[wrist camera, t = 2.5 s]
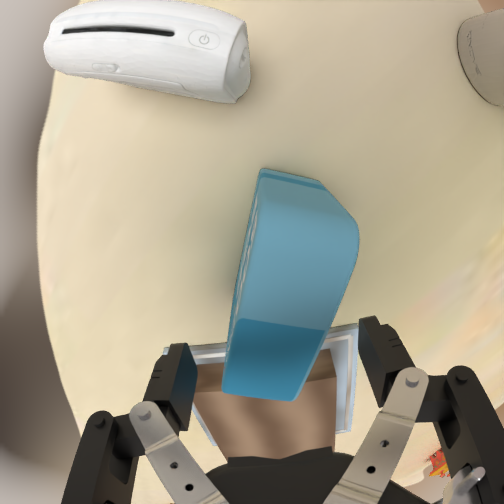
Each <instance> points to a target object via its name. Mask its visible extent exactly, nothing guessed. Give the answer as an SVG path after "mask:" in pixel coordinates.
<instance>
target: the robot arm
mask: <svg viewBox="0 0 504 504" xmlns="http://www.w3.org/2000/svg"><path fill="white" fill-rule="evenodd" d="M458 50H459V56H460V59H461V63H462V65H463V68H464V70H465V73H466V75H467V77H468V78H469V80H470V82H471V84H472V85H473V86H474V88H475V89H476V91H477V92H478V93H479V94H480V95H481V96H482V97H483V98H484V99H486V100H487V101H488V102H490V103H492V104H494V105H497V106H504V8H503V9H499V10H496V11H492V12H489V13H485V14H482V15H479V16H476V17H473V18H470V19H467V20H466V21H465V22H464V23H463V24H462V25H461V27H460V29H459V34H458ZM358 350H359V355H360V358H361V360H362V363H363V366H364V368H365V371H366V373H367V376H368V379H369V382H370V384H371V387H372V390H373V393H374V395H375V398H376V401H377V404H378V407H379V408H381V407H383V408H382V410H381V411H379V413H378V414H377V416H376V418H375V420H374V422H373V424H372V426H371V428H370V430H369V432H368V434H367V436H366V437H365V439H364V441H363V443H362V445H361V446H360V448H359V450H358V452H357V453H356V455H355V456H352V455H349V454H345V453H339V452H333V451H332V446H328V447H323V448H317V449H311V450H305V451H303V452H300V453H297V454H294V455H291V456H288V457H285V458H282V459H272V458H264V457H257V456H243V457H228V463H227V464H224V465H221V466H219V467H216V468H214V469H212V470H211V471H209V472H208V473H206V474H205V473H204V472H203V470H202V469H201V468H200V467H199V465H198V464H197V463H196V461H195V460H194V459H193V457H192V456H191V455H190V453H189V452H188V450H187V449H186V448H185V446H184V445H183V443H182V442H181V441H180V439H179V438H178V436H179V431H188V427H189V421H190V415H191V410H192V405H193V399H194V394H195V388H196V383H197V378H198V370H197V366H196V363H195V360H194V358H193V356H192V353H191V351H190V348H189V346H188V344H187V343H176V344H171V345H170V347H169V350H168V353H167V355H162V356H161V357H160V358H159V359H158V360H157V362H156V363H155V366H154V369H153V372H152V375H151V379H150V381H149V384H148V387H147V390H146V392H145V395H144V398H143V401H142V402H140V403H138V404H136V405H135V406H134V407H133V408H132V409H131V411H130V413H129V414H125V415H121V416H116V417H113V416H112V415H111V414H110V413H109V412H107V411H98V412H96V413H94V414H92V415H91V416H90V417H89V419H88V421H87V423H86V426H85V429H84V432H83V435H82V437H81V441H80V443H79V446H78V449H77V452H76V455H75V458H74V461H73V465H72V468H71V471H70V474H69V478H68V481H67V485H66V488H65V491H64V495H63V498H62V502H61V504H131V498H132V492H133V487H134V481H135V475H136V470H137V465H138V460H139V456H142V455H146V456H147V458H148V460H149V461H150V463H151V465H152V467H153V468H154V470H155V472H156V474H157V475H158V477H159V479H160V480H161V482H162V483H163V485H164V487H165V488H166V490H167V491H168V493H169V494H170V496H171V498H172V499H173V501H174V502H175V503H174V504H430V503H428V502H427V501H424V500H423V499H421V498H420V497H418V496H416V495H415V494H412V493H411V492H410V491H408V490H406V489H405V488H403V487H402V486H400V485H398V484H397V483H395V482H394V481H392V480H390V478H391V476H392V474H393V472H394V470H395V468H396V466H397V464H398V462H399V460H400V457H401V455H402V453H403V451H404V448H405V446H406V444H407V441H408V439H409V436H410V434H411V431H412V429H413V426H414V424H415V423H417V422H433V424H434V427H435V430H436V433H437V436H438V439H439V441H440V444H441V447H442V450H443V453H444V457H445V460H446V463H447V466H448V469H449V473H450V476H451V480H450V481H449V482H448V484H447V485H446V486H445V488H444V491H443V504H504V428H503V426H502V424H501V422H500V420H499V418H498V416H497V414H496V412H495V410H494V408H493V406H492V404H491V402H490V400H489V398H488V396H487V394H486V392H485V391H484V389H483V387H482V385H481V383H480V381H479V380H478V378H477V376H476V374H475V373H474V371H473V370H472V369H470V368H469V367H466V366H455V367H453V368H451V369H450V370H449V372H448V373H447V375H441V376H430V375H427V374H426V372H424V371H423V370H422V369H419V368H416V367H415V365H414V363H413V361H412V359H411V357H410V356H409V354H408V352H407V350H406V348H405V347H404V345H403V343H402V341H401V339H399V336H398V334H397V332H396V331H395V329H393V328H392V327H391V326H389V325H388V324H384V325H380V323H379V321H378V319H377V317H376V316H370V317H365V318H361V319H359V329H358Z"/></svg>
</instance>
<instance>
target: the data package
mask: <svg viewBox="0 0 504 504" xmlns="http://www.w3.org/2000/svg"><path fill="white" fill-rule="evenodd" d="M358 250H359V229H358V225H357V223H356V221H355V220H354V219H353V217H352V216H351V215H350V214H349V213H348V212H347V211H346V210H345V208H344V207H343V206H342V205H341V204H340V203H339V202H338V201H337V200H336V199H335V198H334V196H333V195H332V194H331V193H330V192H329V191H328V190H327V189H326V188H325V187H324V186H323V185H322V184H321V183H320V182H319V181H318V180H313V179H309V178H305V177H301V176H296V175H292V174H288V173H283V172H278V171H274V170H269V169H261V170H260V172H259V175H258V179H257V184H256V189H255V193H254V198H253V203H252V208H251V213H250V217H249V222H248V227H247V232H246V237H245V242H244V247H243V251H242V256H241V261H240V266H239V271H238V276H237V281H236V286H235V291H234V297H233V303H232V310H231V317H230V325H229V332H228V339H227V347H226V354H225V362H224V370H223V377H222V386H221V389H222V392H224V393H226V394H233V395H239V396H246V397H254V398H262V399H270V400H279V401H290V402H291V401H294V400H295V399H296V398H297V397H298V396H299V394H300V392H301V390H302V388H303V386H304V384H305V382H306V379H307V377H308V375H309V373H310V371H311V369H312V367H313V365H314V363H315V360H316V358H317V356H318V354H319V352H320V350H321V347H322V345H323V343H324V341H325V338H326V336H327V334H328V331H329V329H330V327H331V324H332V322H333V320H334V317H335V315H336V312H337V310H338V308H339V305H340V303H341V300H342V298H343V295H344V293H345V290H346V287H347V285H348V282H349V280H350V277H351V274H352V272H353V269H354V266H355V263H356V260H357V256H358Z"/></svg>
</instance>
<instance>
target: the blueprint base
mask: <svg viewBox="0 0 504 504" xmlns="http://www.w3.org/2000/svg"><path fill="white" fill-rule="evenodd" d="M358 329H359V328H358V325H357V323H355V324H350V325H345V326H339V327H334V328H330V329H329V331H328V334H327V336H326V338H325V341H324V343H323V345H322V347H321V350H320V352H319V354H318V356H317V358H316V360H315V363H314V365H313V367H312V369H311V371H310V373H309V375H308V377H307V379H306V382H305V384H304V386H303V388H302V390H301V392H300V394H299V396H298V397H297V398H296V399H295V400H294V401H291V402H290V401H279V400H270V399H262V398H254V397H246V396H239V395H233V394H226V393H224V392H222V389H221V386H222V377H223V370H224V362H225V354H226V347H227V343H219V344H208V345H197V346H189V348H190V351H191V353H192V356H193V358H194V360H195V363H196V366H197V370H198V378H197V383H196V388H195V394H194V399H193V405H192V410H193V412H194V414H195V416H196V418H197V419H198V421H199V423H200V425H201V426H202V428H203V430H204V431H205V433H206V435H207V436H208V438H209V440H210V441H211V443H212V445H213V446H218V447H219V449H220V450H221V452H222V454H223V455H224V457H225V458H226V460H227V462H228V457H243V456H257V457H264V458H272V459H282V458H285V457H288V456H291V455H294V454H297V453H300V452H303V451H305V450H311V449H317V448H323V447H328V446H332V451H333V452H334V449H335V434H339V433H344V432H349V431H351V425H352V417H353V407H354V397H355V385H356V371H357V355H358ZM168 350H169V348H164V351H163V354H164V355H167V353H168Z"/></svg>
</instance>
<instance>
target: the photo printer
mask: <svg viewBox="0 0 504 504" xmlns="http://www.w3.org/2000/svg"><path fill="white" fill-rule="evenodd" d="M44 54H45V57H46V60H47V62H48V64H49V65H50V66H51V67H52V68H53V69H55V70H57V71H60V72H62V73H65V74H68V75H72V76H80V77H83V78H94V79H100V80H106V81H111V82H116V83H121V84H125V85H130V86H134V87H137V88H144V89H149V90H155V91H160V92H165V93H171V94H176V95H181V96H187V97H192V98H197V99H203V100H207V101H213V102H219V103H236V101H237V98H239V97H241V96H242V95H243V94H244V93H245V92H246V90H247V89H248V87H249V84H250V81H251V72H250V56H249V45H248V35H247V27H246V22H245V21H243V20H241V19H239V18H237V17H235V16H233V15H231V14H229V13H226V12H224V11H221V10H218V9H214V8H211V7H207V6H203V5H198V4H193V3H188V2H182V1H175V0H99V1H93V2H88V3H84V4H81V5H78V6H75V7H73V8H70V9H68V10H67V11H64V12H62V13H61V14H59V15H58V16H57V17H56V18H55V19H54V20H53V21H52V23H51V25H50V31H49V35H48V37H47V39H46V41H45V42H44Z"/></svg>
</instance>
